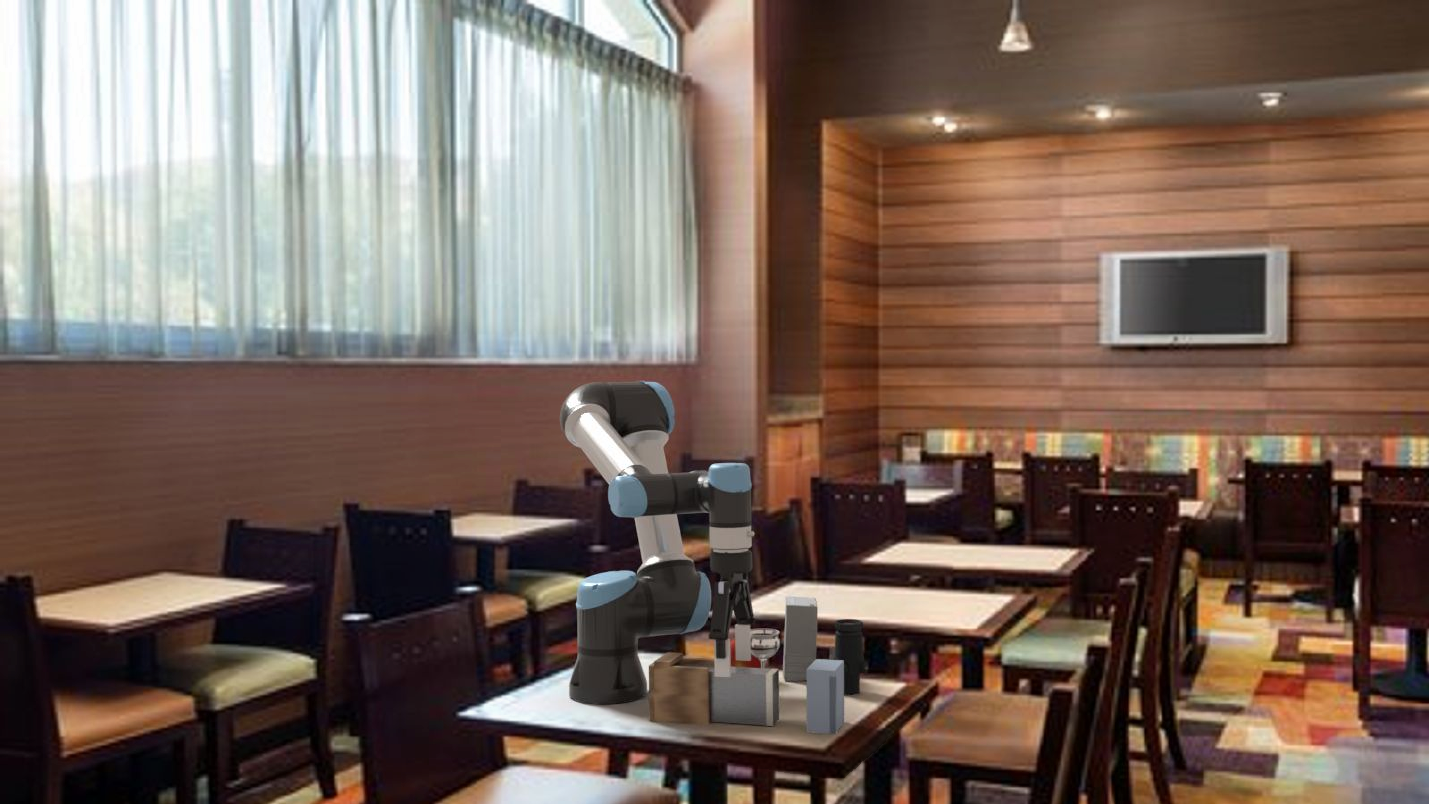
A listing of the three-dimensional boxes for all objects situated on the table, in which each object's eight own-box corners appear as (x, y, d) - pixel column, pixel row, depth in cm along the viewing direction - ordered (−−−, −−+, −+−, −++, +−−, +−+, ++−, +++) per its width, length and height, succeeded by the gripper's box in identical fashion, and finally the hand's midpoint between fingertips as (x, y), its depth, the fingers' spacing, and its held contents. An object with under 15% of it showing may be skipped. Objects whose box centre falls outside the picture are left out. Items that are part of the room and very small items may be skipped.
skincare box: (782, 672, 274) (781, 596, 273) (817, 671, 273) (816, 595, 273) (783, 682, 265) (782, 603, 265) (819, 681, 265) (818, 603, 264)
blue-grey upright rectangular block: (806, 732, 229) (806, 669, 229) (816, 720, 237) (816, 659, 236) (835, 734, 228) (834, 670, 227) (844, 721, 235) (843, 660, 235)
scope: (828, 615, 262) (875, 619, 257) (829, 684, 263) (876, 690, 258) (811, 622, 255) (859, 627, 250) (812, 693, 255) (860, 699, 251)
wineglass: (786, 696, 254) (785, 633, 254) (753, 699, 252) (752, 636, 251) (772, 687, 260) (772, 627, 260) (740, 691, 258) (739, 630, 258)
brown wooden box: (649, 720, 237) (648, 661, 237) (663, 709, 245) (662, 652, 244) (707, 725, 234) (707, 664, 234) (720, 713, 242) (719, 655, 241)
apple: (750, 674, 272) (749, 626, 272) (773, 682, 265) (772, 632, 265) (717, 679, 267) (717, 630, 267) (740, 687, 261) (739, 637, 260)
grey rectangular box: (660, 718, 238) (659, 668, 238) (668, 711, 243) (667, 662, 243) (773, 726, 232) (772, 674, 232) (779, 719, 237) (778, 668, 237)
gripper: (732, 559, 223) (734, 684, 223) (768, 541, 247) (770, 654, 247) (689, 558, 225) (692, 682, 225) (729, 541, 249) (732, 653, 249)
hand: (733, 668), depth 236 cm, fingers open, 13 cm apart
